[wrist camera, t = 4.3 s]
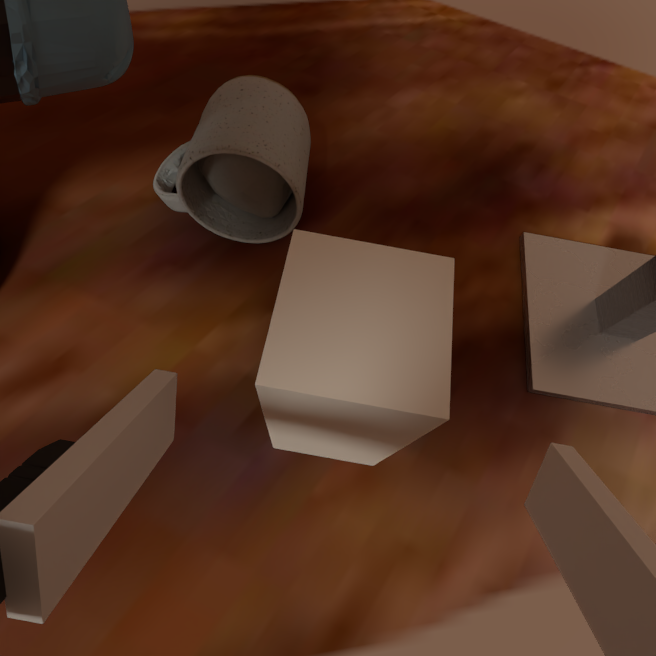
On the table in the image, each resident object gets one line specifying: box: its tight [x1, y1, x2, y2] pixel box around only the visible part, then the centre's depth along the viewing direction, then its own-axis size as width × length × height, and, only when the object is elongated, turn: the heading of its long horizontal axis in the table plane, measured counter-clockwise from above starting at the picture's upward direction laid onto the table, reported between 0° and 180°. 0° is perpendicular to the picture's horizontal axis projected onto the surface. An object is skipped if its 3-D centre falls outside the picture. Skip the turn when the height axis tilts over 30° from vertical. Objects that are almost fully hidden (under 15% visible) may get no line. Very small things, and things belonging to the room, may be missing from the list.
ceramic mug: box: [153, 75, 311, 243], centre depth 26 cm, size 11×8×8 cm
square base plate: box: [520, 232, 656, 415], centre depth 24 cm, size 12×12×7 cm
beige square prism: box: [255, 229, 455, 466], centre depth 18 cm, size 6×6×12 cm
